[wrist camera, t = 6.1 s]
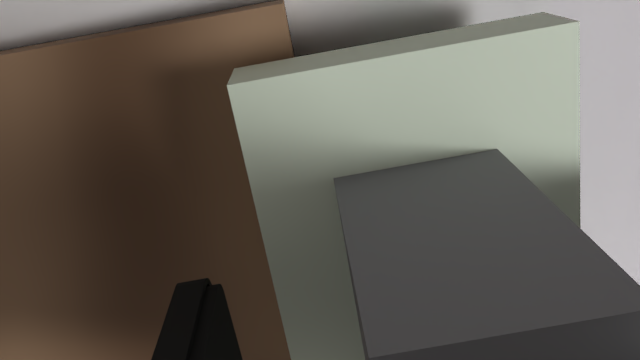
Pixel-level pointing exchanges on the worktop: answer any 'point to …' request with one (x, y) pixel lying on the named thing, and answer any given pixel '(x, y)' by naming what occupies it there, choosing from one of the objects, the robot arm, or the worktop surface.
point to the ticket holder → (131, 186)
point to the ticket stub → (432, 199)
